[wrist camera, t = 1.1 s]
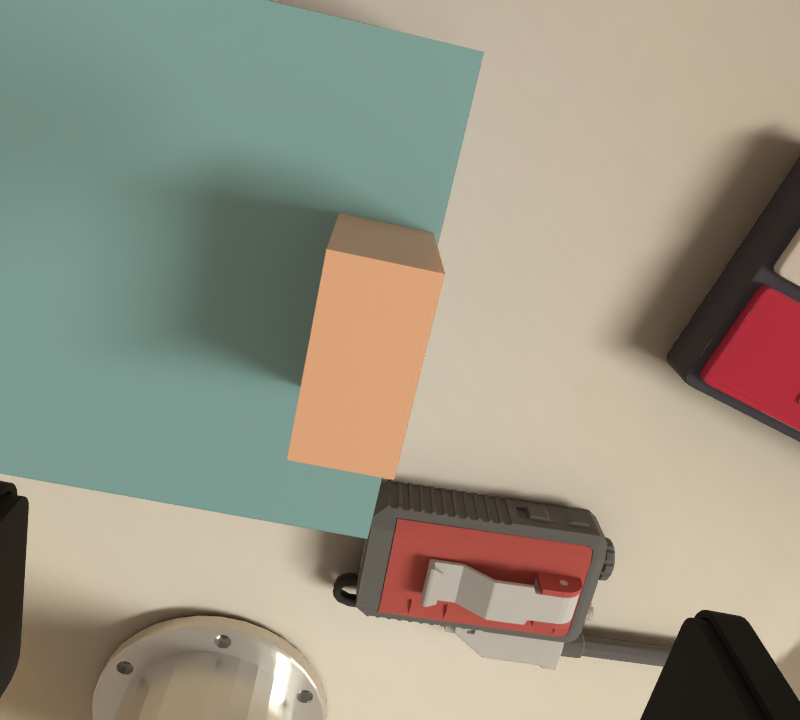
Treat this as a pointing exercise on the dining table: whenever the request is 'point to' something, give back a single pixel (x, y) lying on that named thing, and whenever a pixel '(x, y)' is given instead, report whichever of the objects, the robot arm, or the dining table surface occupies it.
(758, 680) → the robot arm
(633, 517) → the dining table surface
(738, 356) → the calculator
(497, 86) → the dining table surface
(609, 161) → the dining table surface
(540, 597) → the walkie-talkie
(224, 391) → the lid
